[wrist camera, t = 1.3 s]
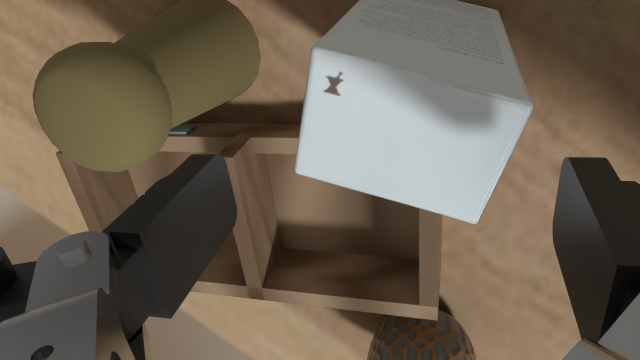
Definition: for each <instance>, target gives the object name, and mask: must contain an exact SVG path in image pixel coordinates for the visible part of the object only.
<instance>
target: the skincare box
mask: <svg viewBox="0 0 640 360" xmlns="http://www.w3.org/2000/svg"><path fill="white" fill-rule="evenodd" d="M532 109H533V103H532V101H531V98H530V96H529V93H528V91H527V88H526V86H525V83H524V80H523V78H522V75H521V73H520V70H519V67H518V64H517V62H516V59H515V56H514V53H513V50H512V47H511V45H510V42H509V39H508V36H507V33H506V30H505V28H504V24H503V22H502V19H501V16H500V14H499V12H498V11H497V10H495V9H491V8H487V7H482V6H478V5H474V4H470V3H465V2H461V1H457V0H359V1H358V2H357V3H356V4H355V5H354V6H353V7H352V8H351V9H350V10H349V11H348V12H347V13H346V14H345V15H344V16H343V17H342V18H341V19H340V20H339V21H338V22H337V23H336V24H335V25H334V26H333V27H332V28H331V29H330V30H329V31H328V32H327V33H326V34H325V35H324V36H323V37H322V38H321V39H320V40H319V41H318V42H317V43H316V44H315V45H314V46H313V47H312V48H311V51H310V60H309V67H308V75H307V82H306V89H305V97H304V104H303V111H302V118H301V125H300V132H299V139H298V146H297V152H296V159H295V166H294V171H295V172H296V173H297V174H300V175H304V176H307V177H311V178H314V179H318V180H321V181H325V182H328V183H332V184H335V185H339V186H342V187H346V188H349V189H353V190H356V191H360V192H364V193H367V194H371V195H374V196H378V197H382V198H385V199H389V200H393V201H396V202H400V203H403V204H407V205H410V206H414V207H417V208H421V209H424V210H428V211H431V212H435V213H438V214H442V215H446V216H449V217H452V218H455V219H459V220H462V221H466V222H468V223H471V224H476V223H477V222H478V220H479V218H480V216H481V213H482V211H483V209H484V207H485V205H486V203H487V201H488V199H489V197H490V195H491V193H492V191H493V189H494V187H495V185H496V183H497V181H498V179H499V177H500V175H501V173H502V171H503V169H504V167H505V165H506V163H507V161H508V159H509V157H510V155H511V153H512V151H513V149H514V147H515V145H516V143H517V140H518V138H519V136H520V134H521V132H522V130H523V128H524V126H525V124H526V122H527V120H528V118H529V116H530V114H531V112H532Z"/></svg>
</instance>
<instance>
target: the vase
mask: <svg viewBox="0 0 640 360" xmlns="http://www.w3.org/2000/svg"><path fill="white" fill-rule="evenodd" d="M367 360H476V356H475V352H474V349H473V346H472V343H471V341H470V339H469V337H468V335H467V333H466V332H465V330H464V329H463V327H462V326H461V325H460V324H459V323H458V322H457V321H456V320H455V319H454V318H453V317H452V316H450V315H449V314H447V313H446V312H444V311H442V310H440V309H438V321H437V320H429V319H420V318H412V317H403V316H395V315H389V316H388V317H387V318H386V319H385V320H384V321H383V322H382V323H381V325H380V326H379V328H378V329H377V331H376V333H375V335H374V337H373V339H372V342H371V345H370V349H369V353H368V358H367Z"/></svg>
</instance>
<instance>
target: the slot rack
mask: <svg viewBox="0 0 640 360" xmlns="http://www.w3.org/2000/svg"><path fill="white" fill-rule="evenodd" d="M300 125H301V123H182V124H180V125H178V126H175V127H173V128H171V130H170V132H169V134H168V137H167V139H166V141H165V143H164V144H163V146H162V148H161V149H160V150H159V151H158V152H156V153H155V154H154V155H153V156H152V157H151V158H150V159H148V160H147V161H146V162H145V163H144V164H142V165H139V166H137V167H134V168H131V169H128V170H124V171H121V172H108V171H94V170H92V169H89V168H86V167H83V166H81V165H79V164H77V163H76V162H74V161H73V160H71V159H69V158H68V157H66V156H65V155H64V154H63V153H62V152H61V151H58V152H57V153H56V155H57V158H58V160H59V162H60V164H61V167H62V169H63V171H64V174H65V176H66V178H67V181H68V183H69V185H70V188H71V190H72V192H73V194H74V197H75V199H76V201H77V204H78V206H79V208H80V211H81V213H82V215H83V218H84V220H85V222H86V224H87V227H88V229H89V231H98V232H102V231H103V230H104V229H105V228H106V227H107V226H109V225H110V224H111V223H112V222H113V221H114V220H115V219H116V218H117V217H118V216H119V215H121V214H122V213H123V212H124V211H125V210H126V209H127V208H128V207H129V206H130V205H132V204H135V201H136V200H137V199H138V198H139V197H140V196H141V195H145V192H146V191H147V190H148V189H149V188H150V187H151V186H152V185H153V184H154V183H156V182H157V181H158V180H160V179H162V178H164V177H166V176H168V175H169V174H171V173H172V172H173V171H174V170H175V169H176V168H177V167H178V166H180V165H181V164H182V163H183V162H184V161H185V160H186V159H187V158H188V157H189V156H190V155H192V154H220V155H222V156H223V157H224V159H225V161H226V164H227V168H228V172H229V176H230V180H231V184H232V188H233V193H234V197H235V201H236V205H237V219H236V223H235V226H234V228H233V230H232V231H231V233H230V234H229V236H228V237H227V238H226V240H225V241H224V243H223V244H222V246H221V247H220V249H219V250H218V251H217V253H216V254H215V256H214V257H213V259H212V260H211V262H210V263H209V265H208V266H207V267H206V269H205V270H204V272H203V273H202V275H201V276H200V278H199V279H198V280H197V282H196V283H195V285H194V286H193V288H192V289H191V291H192V292H200V293H209V294H217V295H225V296H234V297H242V298H251V299H259V300H268V301H276V302H285V303H293V304H302V305H310V306H319V307H327V308H335V309H344V310H352V311H361V312H369V313H378V314H386V315H395V316H403V317H412V318H420V319H429V320H437V321H438V306H439V289H440V273H441V242H442V214H438V213H435V212H431V211H428V210H424V209H421V208H417V207H414V206H410V205H407V204H403V203H400V202H396V201H393V200H389V199H385V198H382V197H378V196H374V195H371V194H367V193H364V192H360V191H356V190H353V189H349V188H346V187H342V186H339V185H335V184H332V183H328V182H325V181H321V180H318V179H314V178H311V177H307V176H304V175H300V174H297V173H296V172H295V171H294V166H295V159H296V152H297V146H298V139H299V132H300Z"/></svg>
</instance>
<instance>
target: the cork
mask: <svg viewBox="0 0 640 360" xmlns="http://www.w3.org/2000/svg"><path fill="white" fill-rule="evenodd" d="M259 64H260V51H259V44H258V39H257V37H256V34H255V32H254V30H253V28H252V25H251V23H250V22H249V21H248V20H247V18H246V17H245V16H244V15H243V13H242V12H241V11H240V10H239V9H238V8H237V7H236V6H234V5H233V4H231V3H230V2H228V1H227V0H179V1H177V2H176V3H174V4H173V5H171V6H170V7H168V8H167V9H165V10H164V11H162V12H161V13H159V14H157V15H156V16H154V17H153V18H151V19H150V20H148V21H147V22H145V23H144V24H142V25H141V26H139V27H138V28H136V29H135V30H133V31H132V32H130V33H129V34H127V35H126V36H124V37H123V38H121V39H120V40H118V41H117V42H115V43H111V42H83V43H79V44H76V45H72V46H70V47H68V48H66V49H64V50H62V51H60V52H58V53H56V54H55V55H53V56H52V57H51V58H50V59H49V60H48V61H47V62H46V63H45V65H44V66H43V67H42V69H41V70H40V72H39V74H38V76H37V79H36V81H35V86H34V91H33V101H34V108H35V113H36V115H37V118H38V120H39V123H40V125H41V127H42V129H43V130H44V132H45V133H46V135H47V136H48V138H49V139H50V141H51V142H52V143H53V144H54V145H55V146H56V147H57V148H58V149H59V150H60V151H61V152H62V153H63V154H64V155H65V156H66V157H68V158H69V159H71V160H73V161H74V162H76V163H77V164H79V165H81V166H83V167H86V168H89V169H92V170H94V171H108V172H121V171H124V170H128V169H131V168H134V167H137V166H139V165H142V164H144V163H145V162H146V161H147V160H148V159H150V158H151V157H152V156H153V155H154V154H155V153H156V152H158V151H159V150H160V149H161V148H162V146H163V144H164V143H165V141H166V139H167V137H168V134H169V132H170V130H171V128H173V127H175V126H178V125H180V124H182V123H184V122H186V121H188V120H190V119H192V118H194V117H196V116H198V115H200V114H202V113H204V112H206V111H209V110H211V109H213V108H215V107H217V106H219V105H221V104H223V103H225V102H227V101H229V100H231V99H233V98H235V97H238V96H240V95H241V94H242V93H244V92H245V91H246V90H247V89H248V88H249V87H250V86H251V85H252V83H253V81H254V80H255V78H256V76H257V74H258V70H259Z"/></svg>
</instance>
